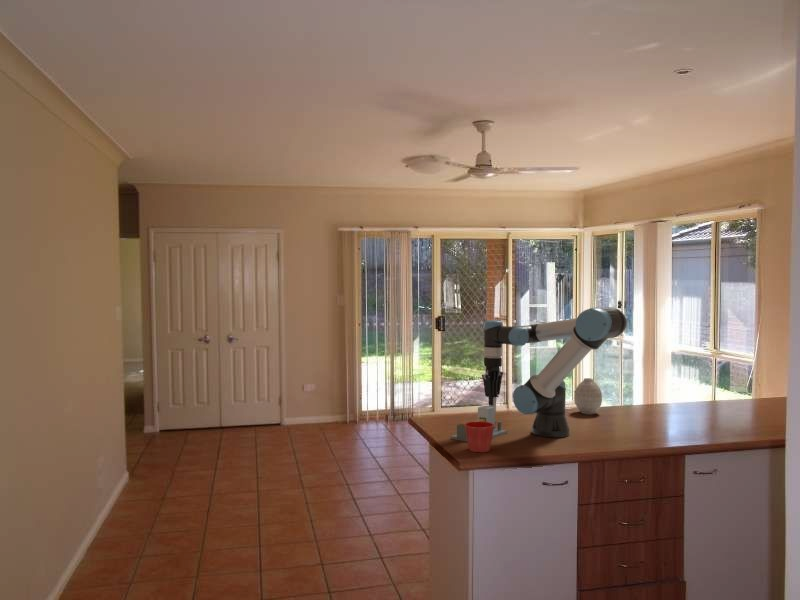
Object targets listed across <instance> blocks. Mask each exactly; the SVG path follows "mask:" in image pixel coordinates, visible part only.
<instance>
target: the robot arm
mask: <svg viewBox="0 0 800 600" xmlns="http://www.w3.org/2000/svg"><path fill="white" fill-rule="evenodd" d="M627 323H628V322H627V318H626V315H625V314H624V312H622V310H620V309H618V308H616V307H611V306H610V307H591V308H587V309H585V310H582V311H581V312H580V313H579V314H578V316H577V317H575V318H568V319H562V320H555V321H549V322H542V323H541V322H540V323H534V324H529V325H528V324H527V325H516V326H510V325H509V326H505V325H503V321H501V320H494V319H493V320H486V321H484V329H483V331H484V332H483V337H484V341H483V342H484V345H483V346H484V347H483V356H484V358H483V365H484V367H486V368H485V372H484V373H483V374H481V378H482V381H483V388H484V396H485V397H487V398H488V406H491V407H495V413H497V398H499V395H500V392H501V388H502V387H501V386H502V380H503V376H504V372H503V371H501V369H500V367H502V366H503V358H502V357H503V345H510V346H514V347H516V346H520V347H521V346H525V345H526V344H533V343H534V344H536V343H541V342H549V341H556V340H557V341H558V340H564V339H567V341H566V342H565V343H564V344H563V346H562V347H561V348H560V349H559V350H558V352H557V353H555V355H554V356H553V357H552V358H551V359H550V360H549V361H548V363H547V364H546V365H545V366H544V367H543V368H542V370H541V371H540V372H539V373H538V374H532V375H531V376H530V377H529V378H528V380H527V381H525V383H524V384H520V385H519V386H517V387H515V388H514V391H513V393H512V399H513V400H512V401H513V405H514V406H515V408H516V409H517V410H518V411H519V412H520V413H521V414H524V415H534V414H535V417H534V420H533V424H532V428H531V433H532V434H533V435H534V436H539V437H545V438H564V437H565V438H566V437H568V436H569V435H570V427H569V426H570V425H569V424H568V421H567V418H566V393H567V391H566V390H567V388H566V381H565V379H566V378H567V377H568V376H569V375H570V374H571V372H573V370H575V368H576V367H577V366H578V365H579V364H580V363H581V362H582V361H583V359H584V358H586V356H587V355H588V354H590V352H591V351H592V350H598V349H600V347H602V345H603V344H604V342H606V341H607V340H608V339H614V338H618V337H619V336H620V335H623V333H624V332H625V330H626V327H627Z"/></svg>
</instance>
